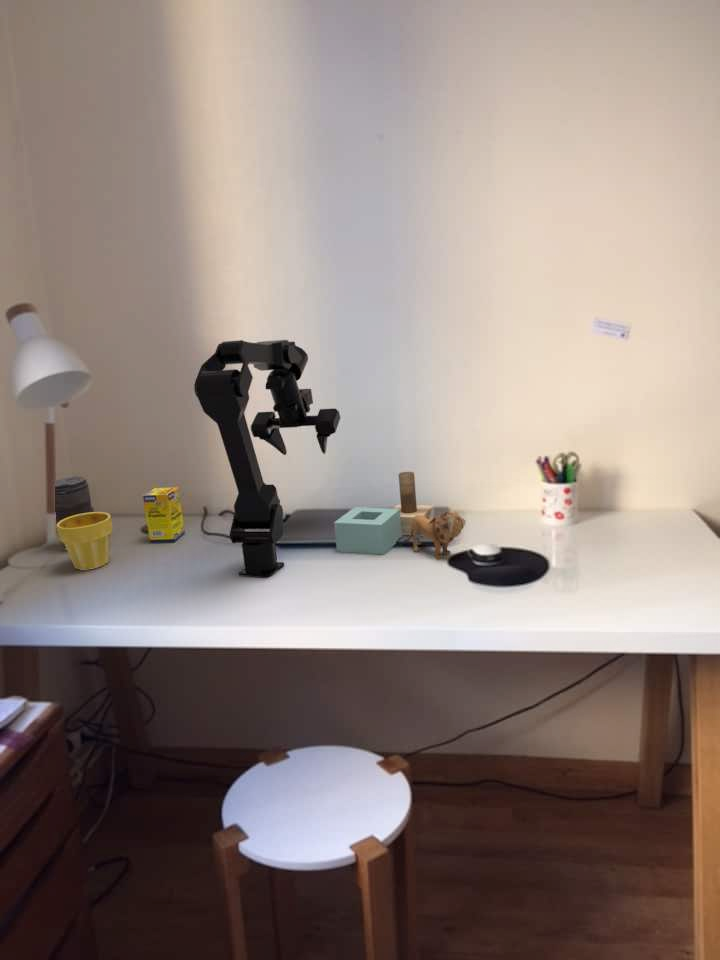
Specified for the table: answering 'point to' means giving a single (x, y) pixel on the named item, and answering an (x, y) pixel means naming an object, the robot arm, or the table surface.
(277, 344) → the robot arm
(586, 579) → the table surface
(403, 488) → the pin
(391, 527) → the socket block
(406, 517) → the pedestal
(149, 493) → the supplement box
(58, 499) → the camera lens
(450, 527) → the lion figurine
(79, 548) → the plant pot
